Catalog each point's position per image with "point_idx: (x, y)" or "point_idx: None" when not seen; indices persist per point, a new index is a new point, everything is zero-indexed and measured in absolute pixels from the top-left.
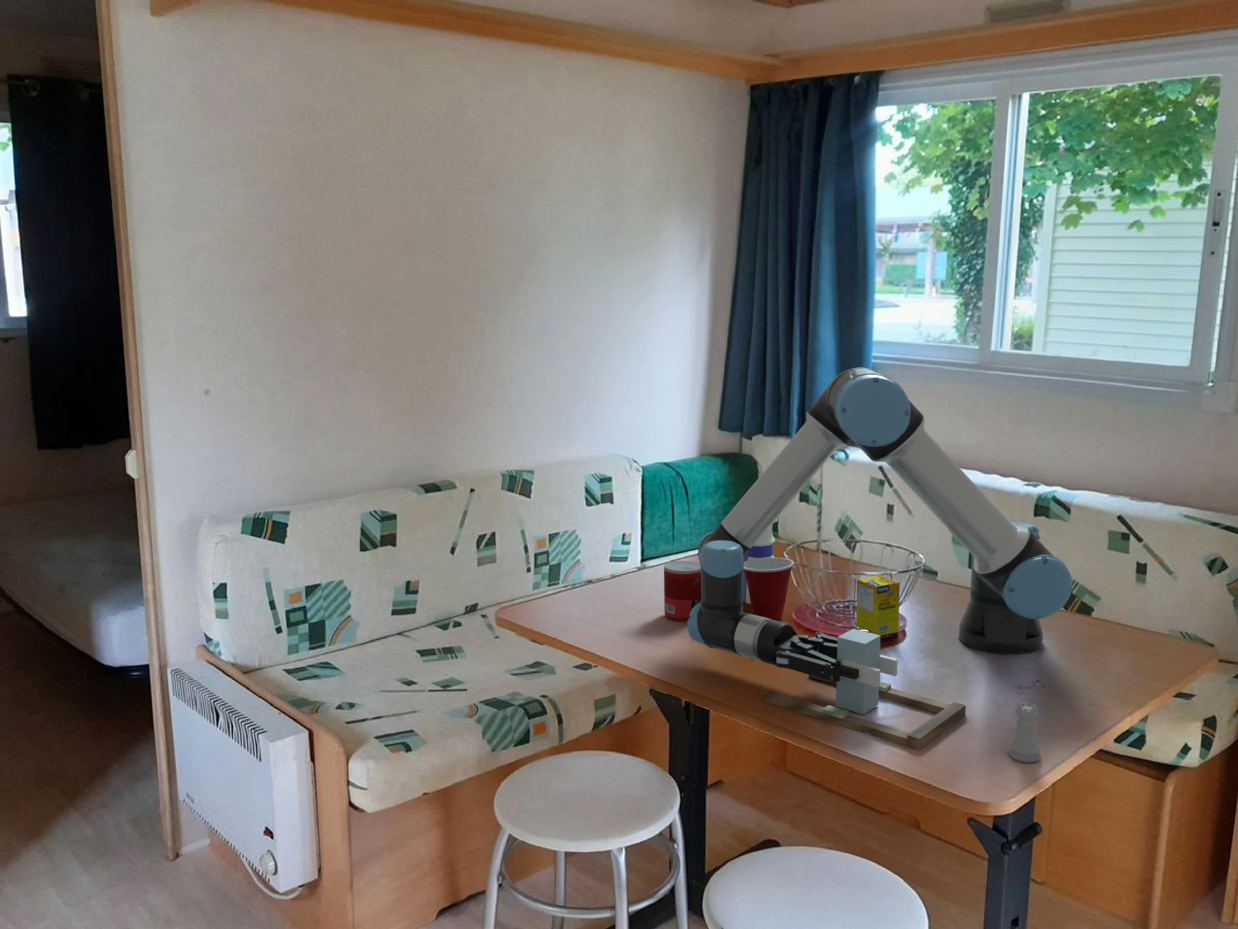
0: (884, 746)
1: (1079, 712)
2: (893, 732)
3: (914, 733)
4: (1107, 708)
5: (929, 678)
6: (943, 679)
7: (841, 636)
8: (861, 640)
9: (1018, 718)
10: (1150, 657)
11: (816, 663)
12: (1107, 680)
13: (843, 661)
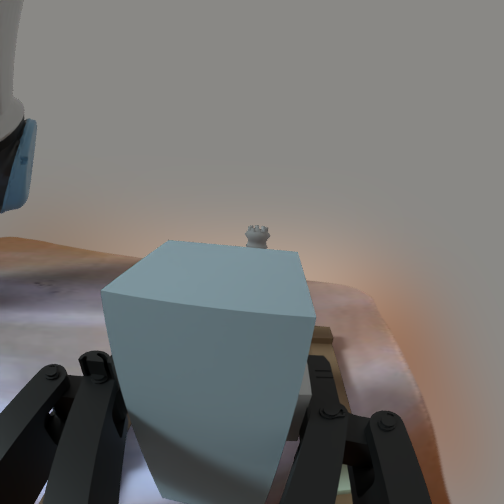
0: (356, 372)
1: (117, 267)
2: (329, 361)
3: (318, 334)
4: (103, 259)
5: (15, 362)
6: (21, 347)
7: (287, 306)
8: (272, 258)
9: (261, 244)
10: (6, 247)
11: (414, 461)
12: (42, 258)
13: (308, 389)
